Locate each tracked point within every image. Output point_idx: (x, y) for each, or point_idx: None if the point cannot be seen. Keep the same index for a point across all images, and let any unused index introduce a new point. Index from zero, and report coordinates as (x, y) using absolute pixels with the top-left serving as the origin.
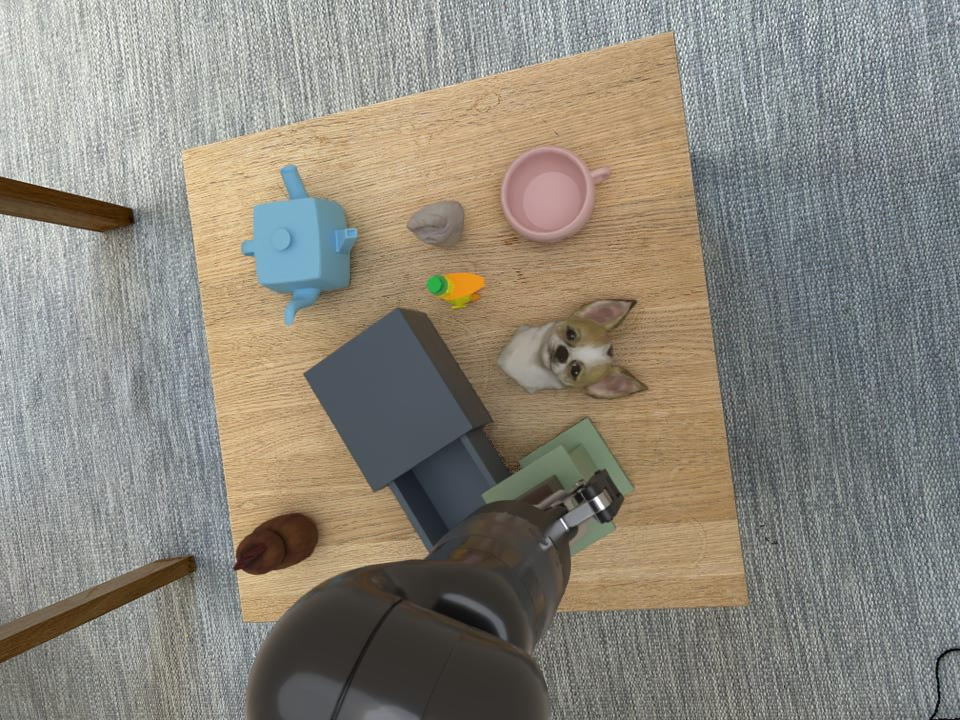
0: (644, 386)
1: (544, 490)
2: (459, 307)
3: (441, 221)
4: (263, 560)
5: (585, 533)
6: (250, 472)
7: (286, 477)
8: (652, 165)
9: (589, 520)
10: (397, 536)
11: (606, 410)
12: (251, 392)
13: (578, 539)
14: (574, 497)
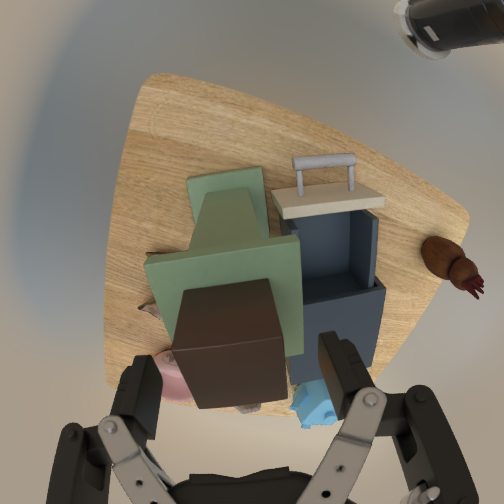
0: (148, 256)
1: (206, 404)
2: None
3: (238, 406)
4: (468, 275)
5: (115, 474)
6: (428, 291)
7: (416, 282)
8: (118, 353)
9: (112, 459)
10: (383, 217)
11: (186, 242)
12: (398, 330)
13: (126, 492)
14: (148, 433)
